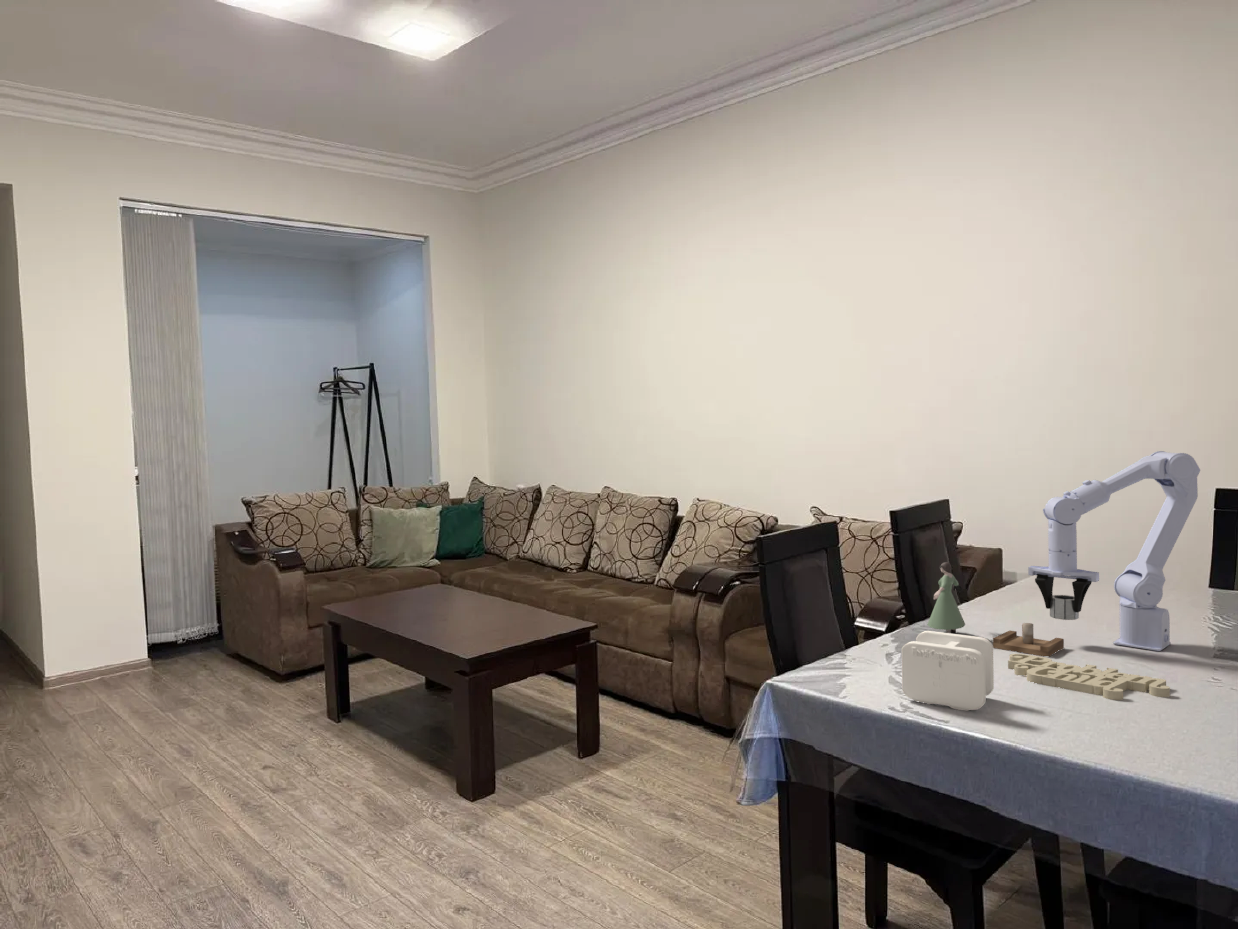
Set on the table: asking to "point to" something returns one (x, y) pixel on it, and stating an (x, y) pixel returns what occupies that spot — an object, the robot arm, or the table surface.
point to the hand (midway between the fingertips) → (1063, 609)
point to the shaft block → (1027, 642)
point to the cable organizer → (948, 670)
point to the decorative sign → (1084, 677)
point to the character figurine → (946, 603)
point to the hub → (1063, 607)
